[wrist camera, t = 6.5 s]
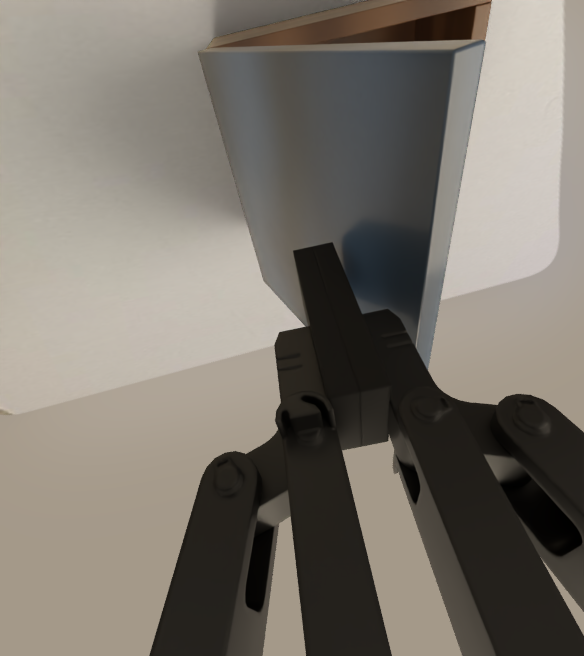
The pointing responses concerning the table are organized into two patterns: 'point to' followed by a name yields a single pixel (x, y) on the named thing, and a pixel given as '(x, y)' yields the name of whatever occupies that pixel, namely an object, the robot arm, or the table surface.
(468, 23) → the storage box
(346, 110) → the blue lid
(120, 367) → the table surface
